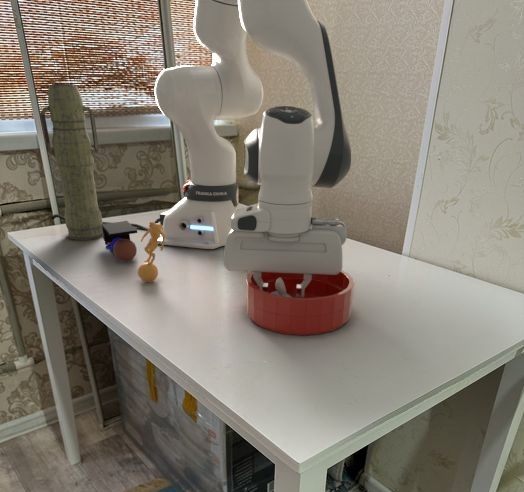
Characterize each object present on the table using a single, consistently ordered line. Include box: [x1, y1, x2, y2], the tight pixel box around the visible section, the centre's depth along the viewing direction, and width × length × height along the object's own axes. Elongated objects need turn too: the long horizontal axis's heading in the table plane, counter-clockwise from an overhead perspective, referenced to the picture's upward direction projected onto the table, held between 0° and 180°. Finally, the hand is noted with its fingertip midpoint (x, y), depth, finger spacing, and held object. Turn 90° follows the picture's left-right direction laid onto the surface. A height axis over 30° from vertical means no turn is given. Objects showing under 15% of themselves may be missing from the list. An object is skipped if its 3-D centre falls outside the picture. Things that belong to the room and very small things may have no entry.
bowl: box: [245, 269, 355, 336], centre depth 90 cm, size 19×19×6 cm
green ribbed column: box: [39, 83, 103, 241], centre depth 124 cm, size 9×12×35 cm
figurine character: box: [101, 220, 138, 262], centre depth 118 cm, size 7×8×15 cm
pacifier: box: [271, 278, 291, 297], centre depth 89 cm, size 7×6×6 cm
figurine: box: [137, 221, 165, 283], centre depth 102 cm, size 8×6×12 cm
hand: (281, 295), depth 90 cm, fingers open, 5 cm apart
